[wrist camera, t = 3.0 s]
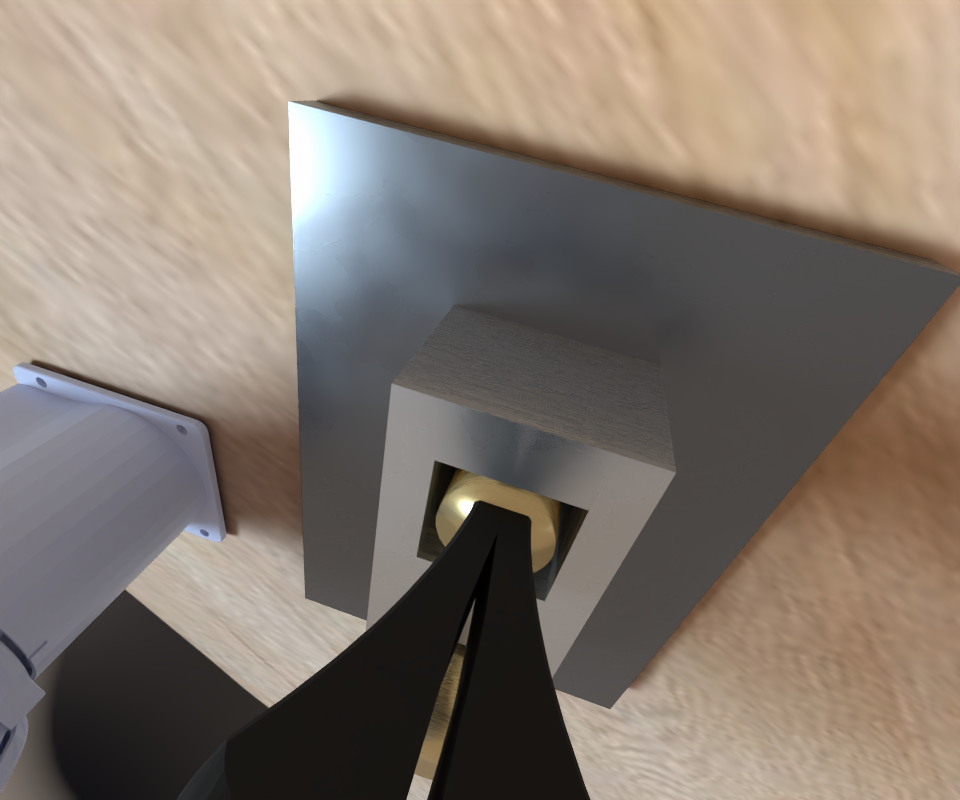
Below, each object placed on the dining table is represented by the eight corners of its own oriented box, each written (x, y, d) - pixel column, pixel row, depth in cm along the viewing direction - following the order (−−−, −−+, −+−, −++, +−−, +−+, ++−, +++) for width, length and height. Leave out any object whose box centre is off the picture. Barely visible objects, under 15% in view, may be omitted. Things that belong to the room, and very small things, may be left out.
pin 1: (421, 626, 18) (372, 757, 15) (431, 580, 16) (378, 716, 13) (495, 653, 18) (464, 793, 14) (514, 609, 16) (483, 756, 13)
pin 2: (470, 451, 16) (428, 553, 13) (488, 379, 14) (445, 473, 11) (556, 479, 16) (536, 590, 12) (584, 408, 14) (572, 514, 11)
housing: (404, 585, 22) (359, 686, 18) (453, 304, 14) (391, 383, 10) (531, 630, 21) (512, 744, 17) (661, 365, 13) (676, 472, 9)
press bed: (317, 578, 25) (305, 597, 24) (314, 100, 13) (288, 101, 12) (610, 683, 24) (610, 709, 23) (935, 261, 11) (965, 277, 10)
